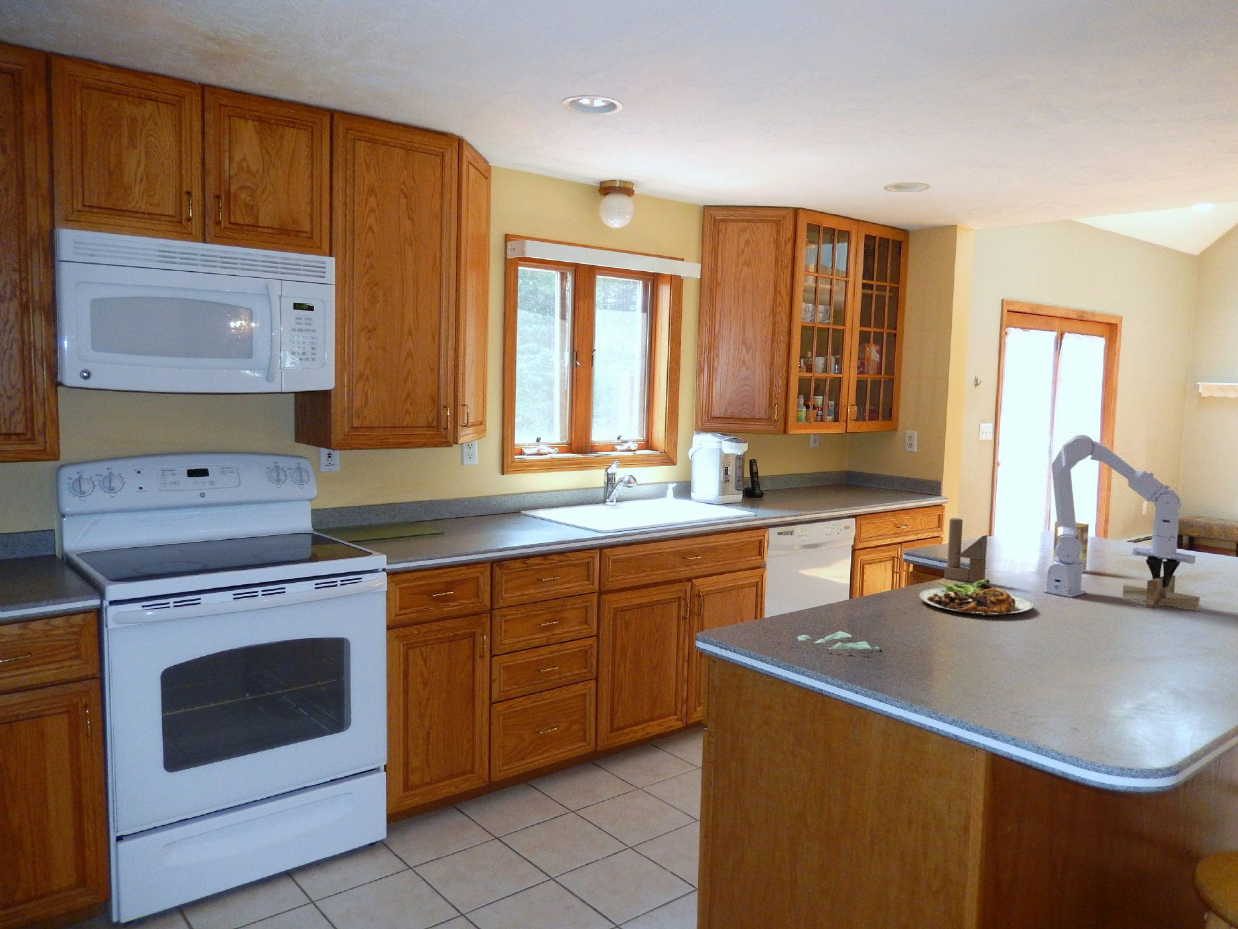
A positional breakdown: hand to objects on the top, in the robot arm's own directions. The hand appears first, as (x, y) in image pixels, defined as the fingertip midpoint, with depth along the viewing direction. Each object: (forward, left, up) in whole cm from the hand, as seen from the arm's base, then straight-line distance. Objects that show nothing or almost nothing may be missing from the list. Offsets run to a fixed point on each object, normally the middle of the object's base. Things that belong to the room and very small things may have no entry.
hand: (1161, 586), depth 237 cm
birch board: (0, 0, -5) cm, 5 cm away
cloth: (-102, +25, -6) cm, 105 cm away
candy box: (+24, +35, -5) cm, 43 cm away
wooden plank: (0, 0, -5) cm, 5 cm away
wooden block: (-18, +46, -5) cm, 50 cm away
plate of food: (-44, +28, -5) cm, 52 cm away
